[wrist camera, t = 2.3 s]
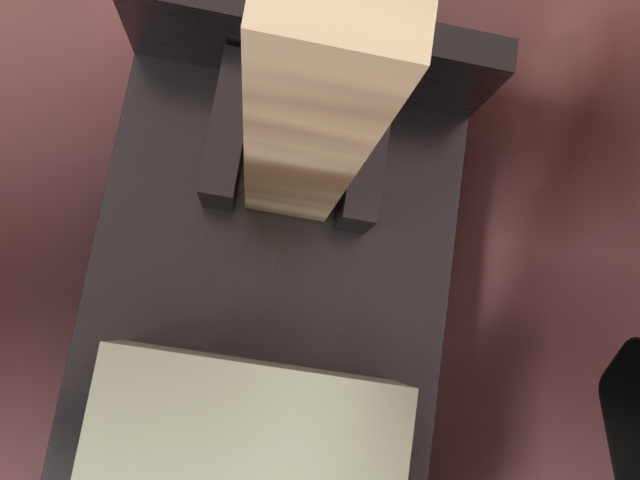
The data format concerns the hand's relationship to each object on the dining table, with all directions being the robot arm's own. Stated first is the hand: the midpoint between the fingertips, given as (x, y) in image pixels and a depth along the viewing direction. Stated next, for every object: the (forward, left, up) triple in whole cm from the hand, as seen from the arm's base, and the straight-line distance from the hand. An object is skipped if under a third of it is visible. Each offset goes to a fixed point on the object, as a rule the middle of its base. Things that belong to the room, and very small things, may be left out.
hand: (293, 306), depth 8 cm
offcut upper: (-2, -3, -9) cm, 10 cm away
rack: (0, 0, -12) cm, 12 cm away
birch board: (+3, +5, -10) cm, 12 cm away
